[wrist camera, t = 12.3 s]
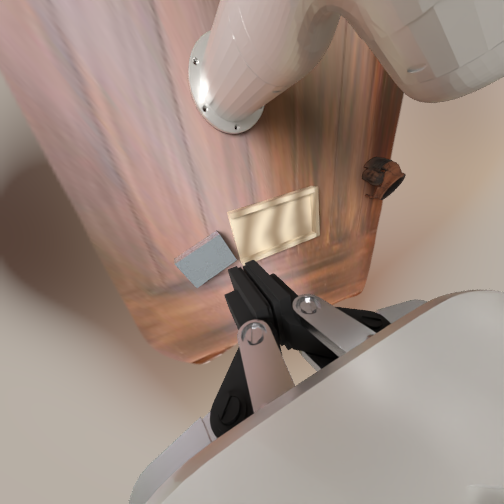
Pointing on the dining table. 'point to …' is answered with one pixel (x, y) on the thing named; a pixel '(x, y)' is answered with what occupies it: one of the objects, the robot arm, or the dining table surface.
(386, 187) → the pottery mug
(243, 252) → the tray
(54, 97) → the dining table surface
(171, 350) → the dining table surface
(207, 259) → the cover plate
